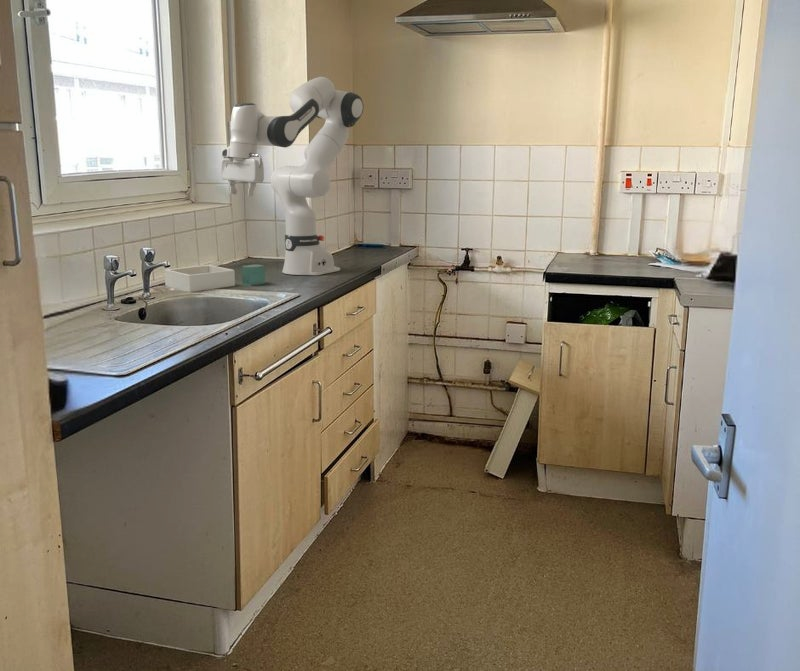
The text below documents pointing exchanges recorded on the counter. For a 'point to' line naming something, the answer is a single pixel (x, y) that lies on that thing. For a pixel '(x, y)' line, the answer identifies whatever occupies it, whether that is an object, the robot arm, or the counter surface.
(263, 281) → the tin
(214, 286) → the tote
